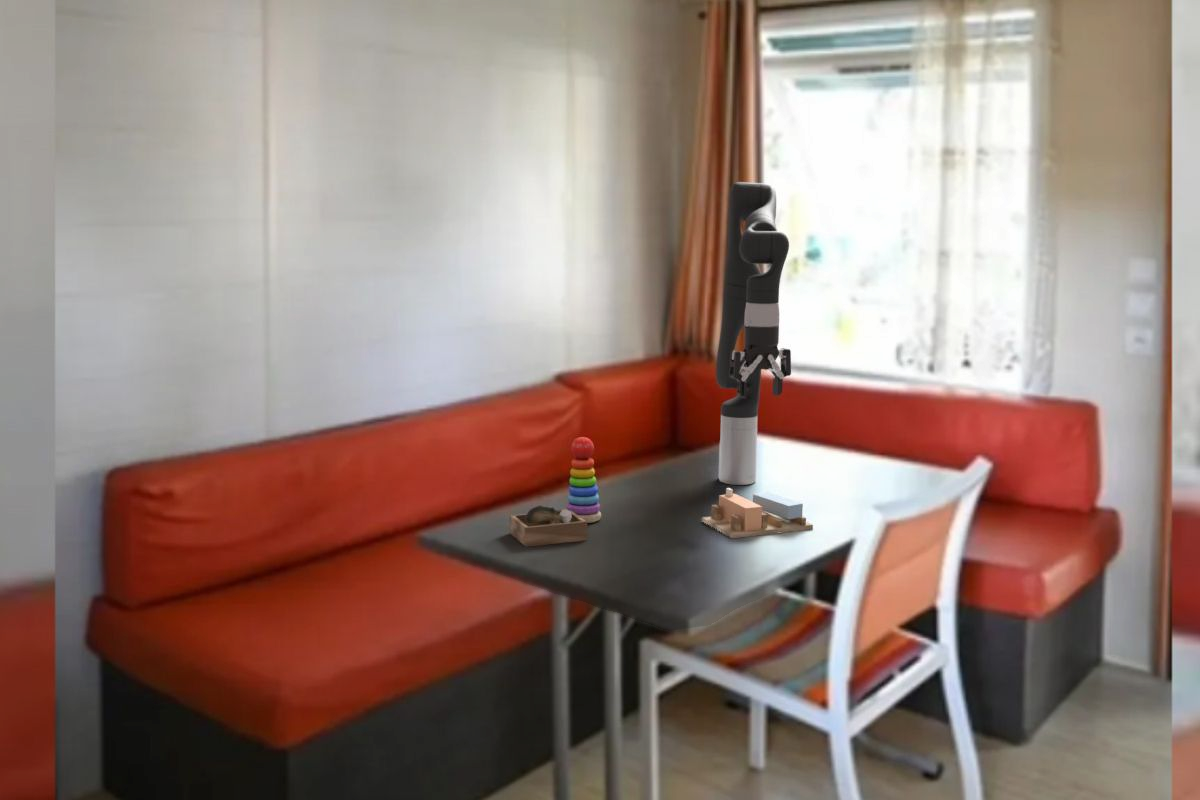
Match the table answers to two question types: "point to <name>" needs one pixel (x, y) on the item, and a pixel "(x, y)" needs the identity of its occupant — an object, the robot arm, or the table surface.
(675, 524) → the table surface
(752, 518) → the knobbed wooden block
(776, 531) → the jig
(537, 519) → the eagle figurine
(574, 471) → the stacking toy
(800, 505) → the light blue rectangular block
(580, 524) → the open wooden box
